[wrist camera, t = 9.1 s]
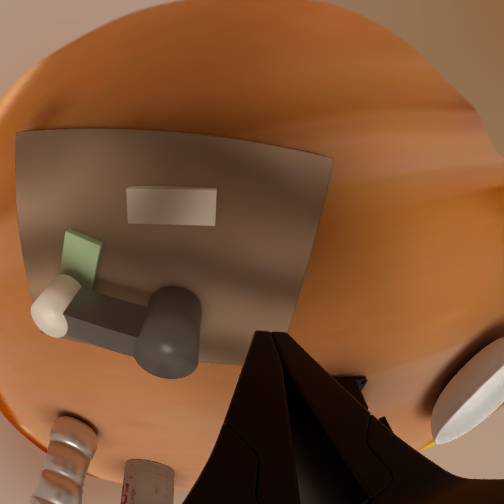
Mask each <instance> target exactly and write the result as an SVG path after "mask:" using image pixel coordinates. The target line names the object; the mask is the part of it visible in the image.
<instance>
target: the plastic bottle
mask: <svg viewBox="0 0 504 504" xmlns="http://www.w3.org/2000/svg"><path fill="white" fill-rule="evenodd" d="M96 449H97V436H96V434H95V432H94V430H93V429H92V428H91V427H90V426H88V425H87V424H85V423H84V422H82V421H80V420H78V419H76V418H73V417H70V416H61V417H59V418H57V419H56V421H55V422H54V424H53V425H52V427H51V432H50V443H49V447H48V451H47V456H46V461H45V464H44V467H43V471H42V472H41V475H40V478H39V481H38V483H37V485H36V487H35V489H34V491H33V493H32V496H31V498H30V504H82V494H83V486H84V479H85V476H86V473H87V470H88V467H89V465H90V461H91V460H92V458H93V457H94V454H95V452H96Z"/></svg>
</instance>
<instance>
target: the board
mask: <svg viewBox="0 0 504 504" xmlns="http://www.w3.org/2000/svg"><path fill="white" fill-rule="evenodd" d="M333 161H334V159H333V158H330V157H327V156H324V155H321V154H316V153H312V152H307V151H303V150H298V149H293V148H288V147H283V146H278V145H272V144H267V143H261V142H255V141H249V140H243V139H236V138H229V137H222V136H214V135H206V134H197V133H187V132H177V131H165V130H150V129H131V128H56V129H38V130H29V131H22V132H16V152H15V180H16V201H17V214H18V224H19V232H20V240H21V247H22V253H23V259H24V265H25V270H26V275H27V280H28V284H29V289H30V293H31V297H32V301H33V303H34V302H35V301H36V299H37V298H38V297H39V296H40V294H41V293H42V292H43V291H44V290H45V288H46V287H47V286H48V285H49V284H50V283H51V281H52V280H53V279H54V278H55V277H56V276H58V275H61V274H64V275H68V276H71V277H73V278H74V279H75V280H77V281H78V282H79V284H80V285H81V286H82V288H85V289H88V290H91V291H94V292H97V293H101V294H104V295H107V296H110V297H114V298H117V299H121V300H124V301H128V302H131V303H135V304H138V305H142V306H146V307H147V306H148V303H149V300H150V298H151V296H152V295H153V294H154V293H155V292H156V291H157V290H159V289H161V288H164V287H169V286H174V287H180V288H184V289H186V290H188V291H190V292H191V293H192V294H194V295H195V296H196V297H197V299H198V300H199V302H200V304H201V307H202V317H201V330H200V344H199V359H198V362H204V363H216V364H229V365H244V362H245V359H246V356H247V353H248V350H249V347H250V344H251V341H252V338H253V335H254V332H255V331H256V330H260V331H269V332H273V331H277V332H286V333H287V332H288V329H289V325H290V322H291V319H292V316H293V313H294V309H295V306H296V303H297V299H298V296H299V293H300V289H301V286H302V282H303V279H304V275H305V272H306V268H307V265H308V261H309V257H310V254H311V250H312V246H313V243H314V239H315V235H316V231H317V227H318V224H319V220H320V216H321V212H322V208H323V204H324V199H325V195H326V191H327V187H328V183H329V178H330V174H331V170H332V165H333ZM41 333H44V332H43V331H42V330H41ZM44 334H46V333H44ZM59 338H63V339H67V340H71V341H75V342H79V343H84V344H88V345H93V344H90V343H87V342H84V341H81V340H78V339H76V338H73V337H70V336H67V335H64V336H63V337H59ZM93 346H96V345H93ZM98 347H99V346H98Z"/></svg>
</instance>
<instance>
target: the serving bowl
mask: <svg viewBox="0 0 504 504" xmlns="http://www.w3.org/2000/svg"><path fill="white" fill-rule="evenodd" d="M503 402H504V337H501V338H499V339H497V340H495V341H493V342H492V343H490V344H489V345H487V346H486V347H485V348H483V349H482V350H481V351H479V352H478V353H477V354H476V355H475V356H474V357H473V358H471V359H470V360H469V361H468V362H467V363H466V364H465V365H464V366H463V367H462V368H461V369H460V370H459V372H458V373H457V374H456V375H455V376H454V377H453V378H452V379H451V381H450V382H449V383H448V385H447V386H446V387H445V389H444V390H443V391H442V393H441V394H440V396H439V398H438V400H437V402H436V404H435V406H434V409H433V412H432V416H431V432H432V436H433V439H434V441H435V443H436V444H444V443H448V442H450V441H452V440H454V439H456V438H458V437H460V436H462V435H463V434H465V433H467V432H468V431H470V430H471V429H473V428H474V427H475V426H477V425H478V424H479V423H480V422H482V421H483V420H484V419H485V418H487V417H488V416H489V415H490V414H491V413H492V412H494V411H495V410H496V409H497V408H498V407H499V406H500V405H501V404H502V403H503Z"/></svg>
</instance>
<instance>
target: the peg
mask: <svg viewBox="0 0 504 504" xmlns="http://www.w3.org/2000/svg"><path fill="white" fill-rule="evenodd" d="M31 315H32V318H33V320H34V322H35V324H36V325H37V326H38V327H39V329H41V330H42V331H43V332H44V333H46V334H47V335H49V336H52V337H56V338H59V337H63V336H64V335H67V336H70V337H73V338H76V339H78V340H81V341H84V342H87V343H90V344H93V345H96V346H99V347H102V348H106V349H109V350H112V351H115V352H119V353H122V354H126V355H129V356H133V357H135V359H136V361H137V363H138V364H139V365H140V366H141V367H142V368H143V369H144V370H146V371H147V372H149V373H150V374H153V375H155V376H158V377H161V378H167V379H178V378H182V377H186V376H188V375H190V374H191V373H192V372H194V370H195V369H196V368H197V365H198V359H199V344H200V330H201V317H202V307H201V304H200V302H199V300H198V299H197V297H196V296H195V295H194V294H192V293H191V292H190V291H188V290H186V289H184V288H180V287H174V286H169V287H164V288H161V289H159V290H157V291H156V292H155V293H154V294H153V295H152V296H151V298H150V300H149V303H148V306H147V307H146V306H142V305H138V304H135V303H131V302H128V301H124V300H121V299H117V298H114V297H110V296H107V295H104V294H101V293H97V292H94V291H91V290H88V289H85V288H82V286H81V285H80V284H79V282H78V281H77V280H75V279H74V278H73V277H71V276H68V275H64V274H61V275H58V276H56V277H55V278H54V279H53V280H52V281H51V283H50V284H49V285H48V286H47V287H46V288H45V290H44V291H43V292H42V293H41V294H40V296H39V297H38V298H37V299H36V301H35V302H34V303H33V304H32V306H31Z"/></svg>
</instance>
